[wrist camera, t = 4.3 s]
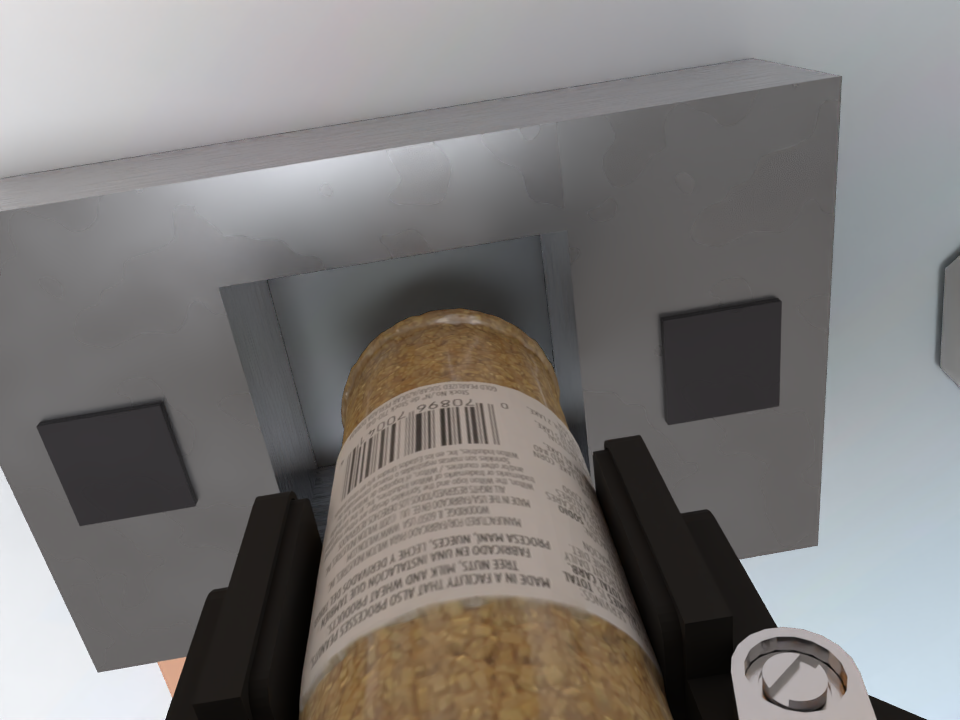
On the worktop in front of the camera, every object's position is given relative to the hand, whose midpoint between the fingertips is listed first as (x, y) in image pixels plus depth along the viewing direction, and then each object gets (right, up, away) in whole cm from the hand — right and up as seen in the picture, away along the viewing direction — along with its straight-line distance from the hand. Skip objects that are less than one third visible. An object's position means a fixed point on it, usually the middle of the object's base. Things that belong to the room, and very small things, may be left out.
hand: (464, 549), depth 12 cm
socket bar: (-1, +4, +8) cm, 9 cm away
